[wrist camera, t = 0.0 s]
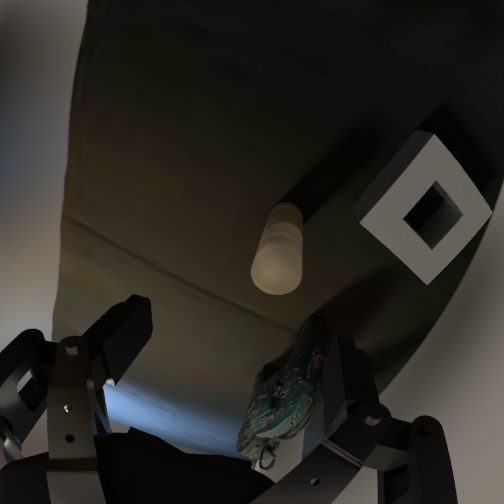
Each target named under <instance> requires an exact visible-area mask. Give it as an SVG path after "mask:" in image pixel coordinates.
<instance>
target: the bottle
mask: <svg viewBox="0 0 504 504" xmlns="http://www.w3.org/2000/svg"><path fill="white" fill-rule="evenodd" d="M303 438H304V430H303V431H302V432H301V433H300V434H298V435H297V436H295V437H294V438H292V439H288V440H282V441H280V444H279V447H278V449H277V450H276V452H275V453H274V454H275V455H276V457H277V458H275V457H269V458H267V459H265V460H262V465H263V467H268V466H269V465H270V463H271V462H272V460H273V459H274V458H275V459H276V461H275V465H274V467H273V468H271V469H270V470H263V469H261V468H260V467H259V461H260V460H258V461H257V463H256V467H255V470H256V471H258V472H260V473H262V474H264V475H266V476H267V477H269V478H270V479H271V480H273V481H274V482H275V483H277V482H278V481H279V480H280V479H282V478H283V477H284V476H285V475H286V474H288V473H289V472H290V471H291V470H292V469H293V468H295V467H296V466H297V465H298V464H299V463H300V462H301V458H302V449H303Z"/></svg>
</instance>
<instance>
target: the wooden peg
mask: <svg viewBox="0 0 504 504" xmlns="http://www.w3.org/2000/svg"><path fill="white" fill-rule="evenodd" d="M302 251H303V214H302V212H301V210H300V209H299V208H298V207H297V206H296V205H294V204H292V203H289V202H282V203H279V204H277V205H275V206H274V207H273V208H272V209H271V211H270V214H269V217H268V220H267V223H266V226H265V229H264V232H263V235H262V238H261V241H260V244H259V247H258V250H257V253H256V256H255V259H254V262H253V265H252V268H251V276H252V279H253V282H254V283H255V285H256V286H257V287H258V288H259V289H261V290H262V291H264V292H266V293H269V294H273V295H283V294H287V293H289V292H291V291H293V290H294V289H295V288H296V287H297V286H298V285H299V283H300V281H301V277H302Z"/></svg>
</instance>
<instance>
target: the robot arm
mask: <svg viewBox="0 0 504 504" xmlns="http://www.w3.org/2000/svg"><path fill="white" fill-rule="evenodd" d="M152 330H153V323H152V313H151V302H150V299H149V298H146V297H142V296H139V295H135V294H133V295H131V296H130V297H129V298H128V299H127V300H126V301H125V302H124V303H123V302H121V303H118V304H116V305H114V306H112V307H111V308H110V309H109V310H108V311H107V312H106V313H105V314H103V315H102V316H101V317H100V319H98V320H97V321H96V322H95V323H94V324H93V325H92V326H91V327H90V328H89V329H88V330H87V331H86V332H85V333H84V334H83V335H82V336H76V335H73V336H68V337H65V338H63V339H62V340H61V341H60V342H59V343H56V342H50V341H45V338H44V335H43V333H42V332H41V331H40V330H38V329H27V330H25V331H23V332H21V333H20V334H19V335H18V336H17V337H16V338H15V339H14V340H13V341H12V342H11V343H10V344H9V345H7V346H6V347H5V349H3V350H2V351H1V353H0V504H331V503H332V502H333V501H334V500H335V499H336V498H337V496H338V495H339V494H340V493H341V492H342V491H343V490H344V489H345V488H346V486H347V485H348V484H349V483H350V482H351V480H352V479H353V478H354V477H355V475H356V474H357V473H358V472H359V470H360V469H361V468H362V466H366V467H369V468H374V469H377V476H378V504H458V502H457V495H456V488H455V481H454V476H453V470H452V466H451V461H450V456H449V451H448V447H447V443H446V439H445V435H444V431H443V428H442V425H441V424H440V423H439V421H438V420H436V419H435V418H433V417H431V416H426V415H423V416H419V417H417V418H416V419H415V420H414V421H413V422H412V423H410V422H406V421H402V420H398V419H395V418H393V417H391V413H390V411H389V410H388V409H387V408H386V407H385V406H384V405H382V404H381V403H380V402H379V397H378V393H377V389H376V384H375V380H374V376H373V372H372V369H371V364H370V360H369V357H368V356H367V355H366V353H365V352H364V351H363V349H356V347H355V343H354V339H353V337H352V336H346V335H338V334H335V335H334V337H333V340H332V342H331V345H330V348H329V351H328V354H327V356H326V359H325V362H324V366H323V399H324V436H330V437H329V438H328V439H327V440H326V441H325V440H324V441H323V442H321V443H320V444H319V445H318V446H317V447H316V448H315V449H314V450H313V451H312V452H311V453H310V454H309V455H308V456H307V457H306V458H305V459H303V460H302V461H301V462H300V463H299V464H298V465H297V466H296V467H295V468H293V469H292V470H291V471H290V472H289V473H288V474H286V475H285V476H284V477H283V478H282V479H280V480H279V481H278V482H277V483H275V482H274V481H273V480H271V479H270V478H269V477H267V476H266V475H264V474H262V473H260V472H258V471H256V470H254V469H251V466H252V461H248V460H242V459H237V458H232V457H227V456H223V455H205V454H188V453H185V452H183V451H181V450H179V449H177V448H176V447H174V446H172V445H170V444H169V443H167V442H165V441H164V440H162V439H160V438H159V437H157V436H154V435H151V434H148V433H146V432H143V431H141V430H138V429H136V428H133V427H130V429H129V431H128V432H127V433H118V432H117V433H112V430H111V427H110V424H109V419H108V414H107V408H106V402H105V396H104V390H103V385H104V384H105V383H108V384H111V385H113V386H116V384H117V383H118V381H119V380H120V379H121V377H122V376H123V375H124V373H125V372H126V370H127V369H128V368H129V366H130V365H131V363H132V362H133V361H134V359H135V358H136V357H137V355H138V354H139V353H140V351H141V350H142V348H143V347H144V346H145V344H146V343H147V342H148V340H149V339H150V337H151V334H152ZM28 371H30V373H31V375H32V377H31V378H30V380H29V381H28V382H27V383H26V385H25V386H24V387H23V388H22V389H21V390H20V392H19V393H18V392H17V384H18V382H19V381H20V380H21V379H22V377H23V376H24V375H25V374H26V373H27V372H28ZM46 408H47V434H48V450H49V451H48V452H45V453H41V454H38V455H34V456H30V457H26V458H23V456H22V454H21V445H22V443H23V442H24V440H25V439H26V437H27V436H28V434H29V433H30V431H31V430H32V428H33V427H34V425H35V424H36V422H37V421H38V420H39V418H40V417H41V415H42V414H43V413H44V411H45V410H46Z"/></svg>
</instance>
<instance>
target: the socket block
mask: <svg viewBox="0 0 504 504" xmlns="http://www.w3.org/2000/svg"><path fill="white" fill-rule="evenodd" d="M431 185H433V186H434V188H435V189H436V190H437V191H438V192H439V193H440V195H441V196H442V197H443V198H444V199H445V200H444V201H443V202H442V204H441V205H440V206H439V207H438V208H437V210H436V211H435V212H434V213H433V214H432V215H431V216H430V218H429V219H428V220H427V221H426V222H425V223H424V224H423V225H422V226H421V228H420V229H419V230H418V231H416V230H415V229H414V227H413V226H412V225H411V224H410V223H409V222H408V221H407V220H406V219H405V218H404V217H405V216H406V214H407V213H408V212H409V211H410V210H411V209H412V208H413V207H414V205H415V204H416V203H417V202H418V201H419V200H420V198H421V197H422V196H423V195H424V194H425V193H426V191H427V190H428V189H429V188H430V187H431ZM352 208H353V210H354V212H355V214H356V216H357V219H358V221H359V223H360V224H361V225H363V226H364V227H365V228H366V229H367V230H368V231H370V232H371V233H372V234H373V235H374V236H375V237H376V238H378V239H379V240H380V241H381V242H382V243H383V244H384V245H385V246H386V247H388V248H389V249H390V250H391V251H392V252H393V253H394V254H395V255H396V256H397V257H398V258H400V259H401V260H402V261H403V262H404V263H405V264H406V265H407V266H408V267H409V268H410V269H411V270H412V271H413V272H414V273H415V274H416V275H417V276H418V277H419V278H420V279H421V280H422V281H423V282H424V283H425V284H426V285H428V284H429V283H430V282H431V281H432V280H433V279H434V278H435V277H436V276H437V275H438V274H439V273H440V272H441V271H442V270H443V269H444V268H445V267H446V266H447V265H448V264H449V263H450V262H451V261H452V259H453V258H454V257H455V256H456V255H457V254H458V253H459V252H460V251H461V250H462V249H463V248H464V246H465V245H466V244H467V243H468V242H469V241H470V240H471V239H472V237H473V236H474V235H475V234H476V233H477V232H478V230H479V229H480V228H481V227H482V226H483V224H484V223H485V222H486V221H487V219H488V218H489V217H490V216H491V214H492V211H491V209H490V208H489V206H488V204H487V203H486V201H485V200H484V198H483V197H482V195H481V194H480V192H479V191H478V189H477V188H476V186H475V185H474V183H473V182H472V181H471V179H470V178H469V176H468V175H467V174H466V172H465V171H464V170H463V168H462V167H461V166H460V164H459V163H458V162H457V160H456V159H455V158H454V157H453V155H452V154H451V153H450V152H449V150H448V149H447V148H446V147H445V146H444V145H443V143H442V142H441V141H440V140H439V139H438V138H437V136H436V135H435V134H433V133H428V132H424V131H419V130H415V131H414V132H413V133H412V135H411V136H410V137H409V138H408V140H407V141H406V142H405V143H404V145H403V146H402V147H401V148H400V150H399V151H398V152H397V153H396V154H395V156H394V157H393V158H392V159H391V161H390V162H389V163H388V164H387V165H386V167H385V168H384V169H383V170H382V171H381V173H380V174H379V175H378V176H377V177H376V179H375V180H374V181H373V182H372V183H371V184H370V186H369V187H368V188H367V189H366V190H365V191H364V193H363V194H362V195H361V196H360V197H359V198H358V200H357V201H356V202H355V203H354V204H353V205H352Z"/></svg>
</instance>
